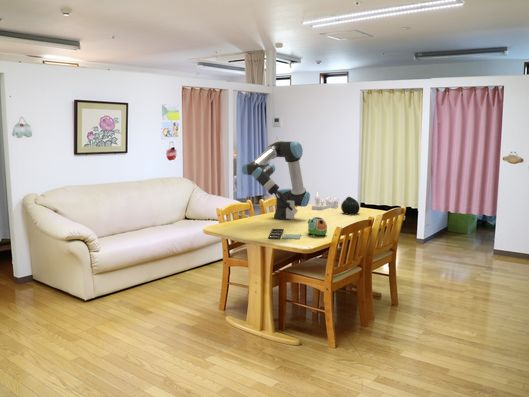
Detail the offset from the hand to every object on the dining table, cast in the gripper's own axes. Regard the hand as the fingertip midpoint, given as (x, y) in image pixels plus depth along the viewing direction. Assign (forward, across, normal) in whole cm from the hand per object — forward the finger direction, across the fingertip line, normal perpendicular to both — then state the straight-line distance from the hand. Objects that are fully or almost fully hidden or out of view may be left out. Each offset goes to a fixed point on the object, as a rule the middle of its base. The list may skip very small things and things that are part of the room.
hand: (296, 212), depth 321 cm
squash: (+39, -92, +16) cm, 101 cm away
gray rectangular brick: (0, 0, -5) cm, 5 cm away
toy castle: (+24, -114, +1) cm, 117 cm away
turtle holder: (+21, -9, -2) cm, 23 cm away
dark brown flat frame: (+2, -5, -21) cm, 22 cm away
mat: (+10, 0, -13) cm, 17 cm away
